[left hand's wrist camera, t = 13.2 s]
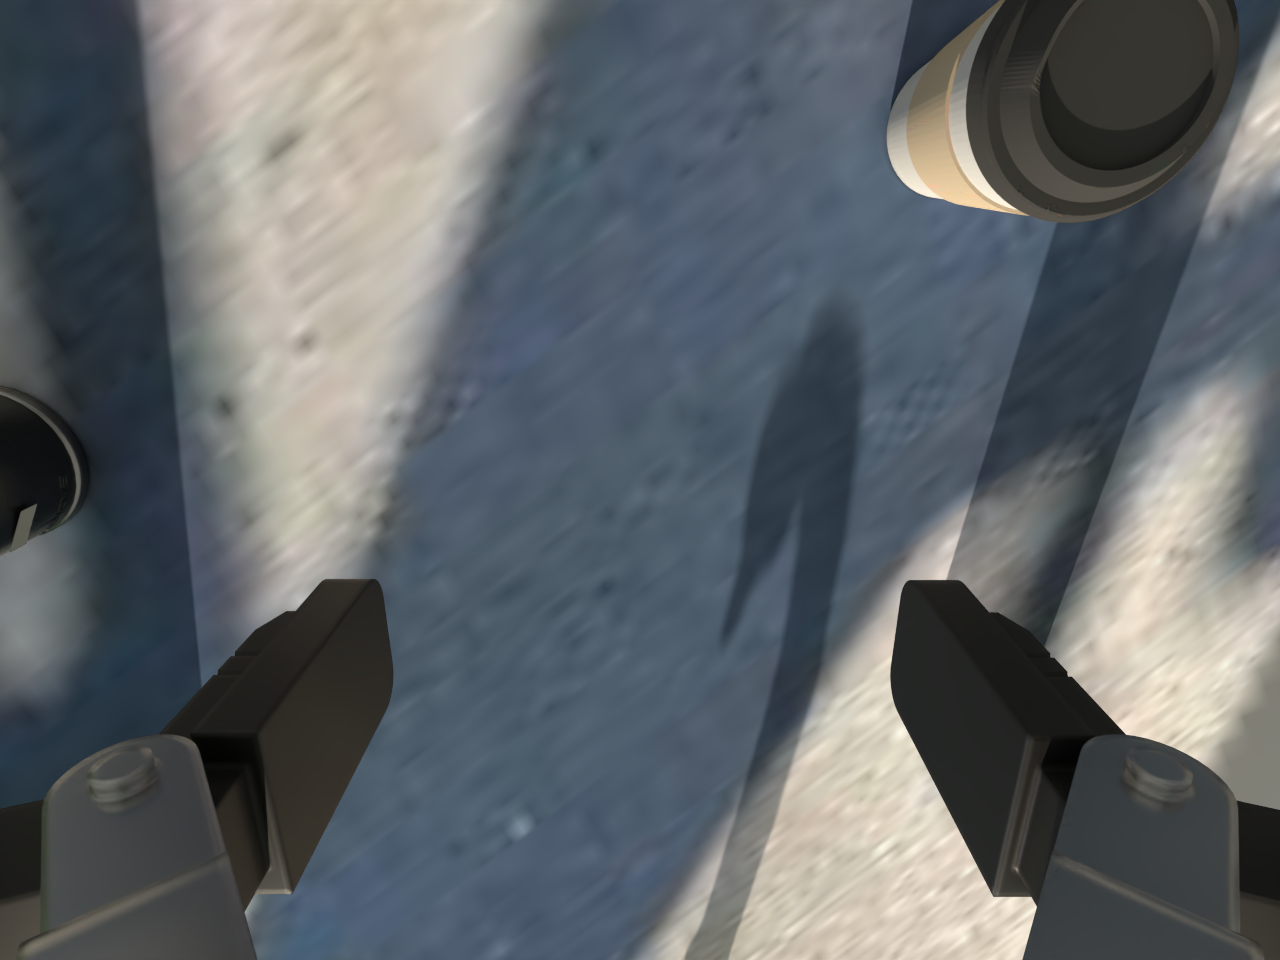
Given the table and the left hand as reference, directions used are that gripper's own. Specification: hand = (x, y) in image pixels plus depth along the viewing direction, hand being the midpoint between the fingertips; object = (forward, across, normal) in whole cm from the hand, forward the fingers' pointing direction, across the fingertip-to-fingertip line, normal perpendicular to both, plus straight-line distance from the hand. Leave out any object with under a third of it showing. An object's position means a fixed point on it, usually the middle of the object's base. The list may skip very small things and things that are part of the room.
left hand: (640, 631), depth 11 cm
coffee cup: (+32, -16, -10) cm, 37 cm away
